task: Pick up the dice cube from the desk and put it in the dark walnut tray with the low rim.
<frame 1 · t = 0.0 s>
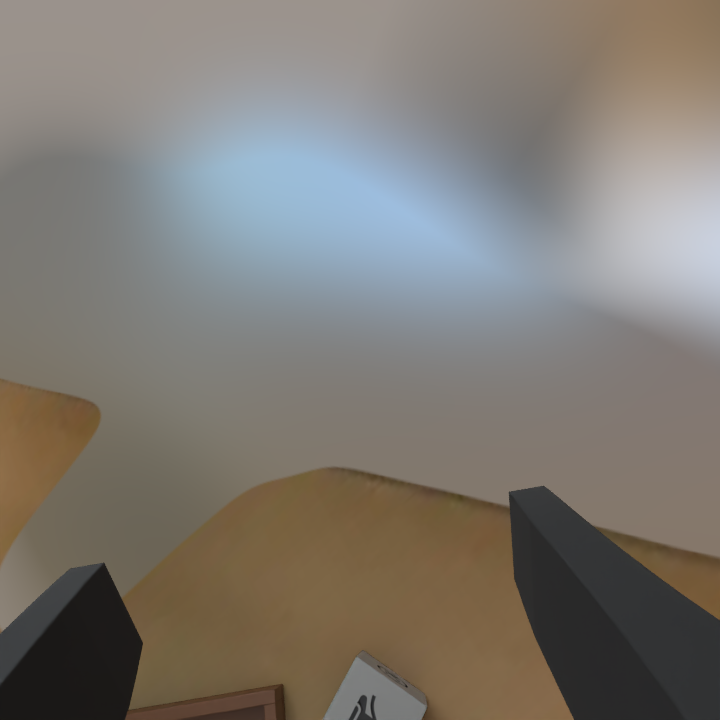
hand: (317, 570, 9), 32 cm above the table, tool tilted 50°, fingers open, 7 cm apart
dice cube: (375, 707, 36), on the table
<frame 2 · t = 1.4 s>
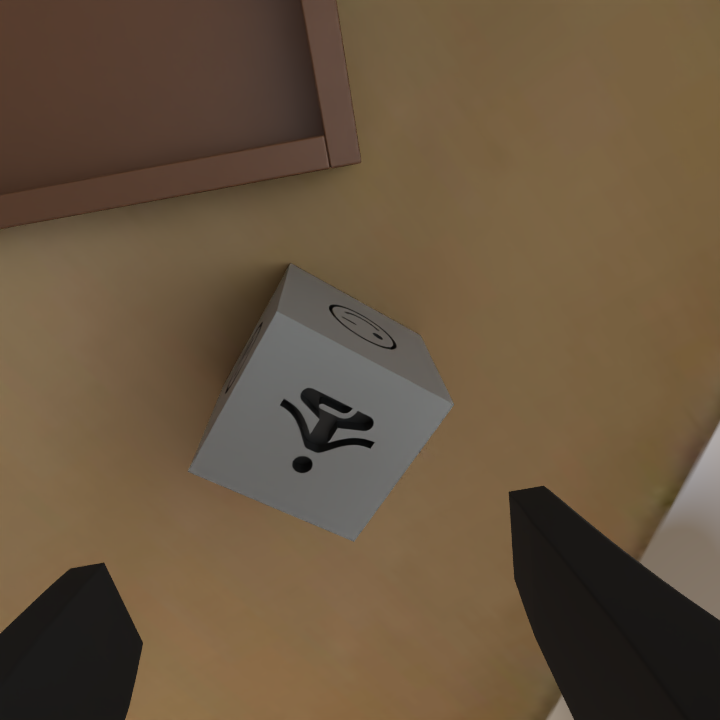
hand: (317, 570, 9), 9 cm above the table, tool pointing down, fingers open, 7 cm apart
dice cube: (320, 359, 18), on the table
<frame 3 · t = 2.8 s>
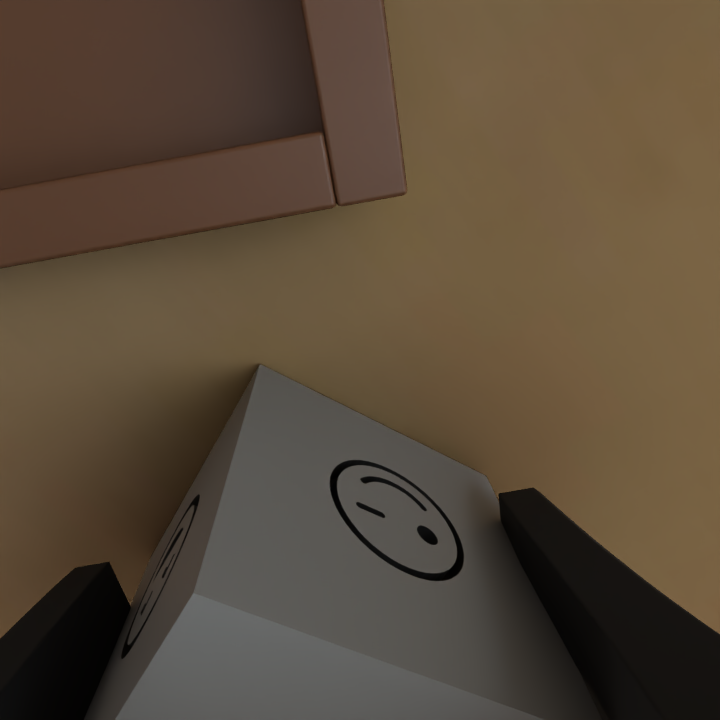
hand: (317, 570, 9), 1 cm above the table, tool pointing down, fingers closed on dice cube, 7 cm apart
dice cube: (316, 511, 11), on the table, touching gripper
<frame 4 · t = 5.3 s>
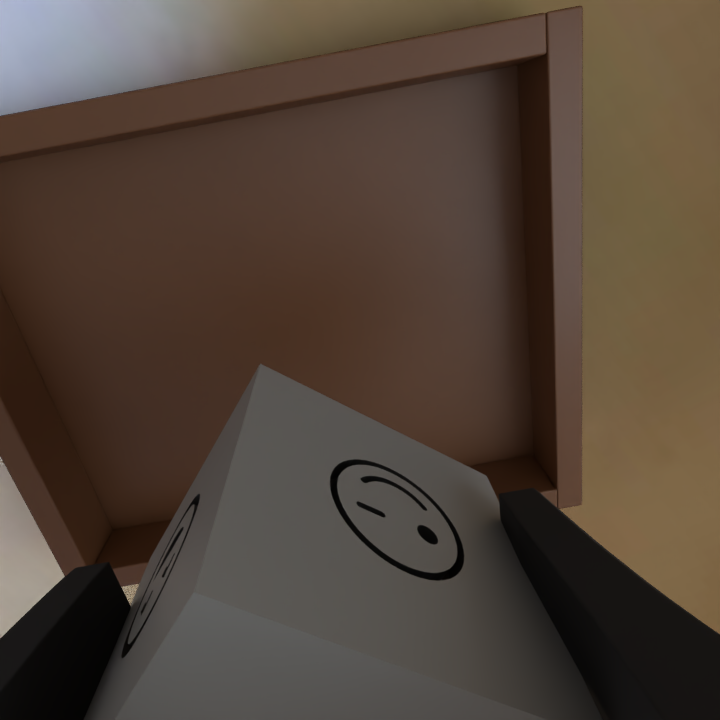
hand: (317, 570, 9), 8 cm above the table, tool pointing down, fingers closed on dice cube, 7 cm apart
dice cube: (316, 510, 11), point 7 cm above the table, touching gripper
tray: (284, 328, 16), on the table
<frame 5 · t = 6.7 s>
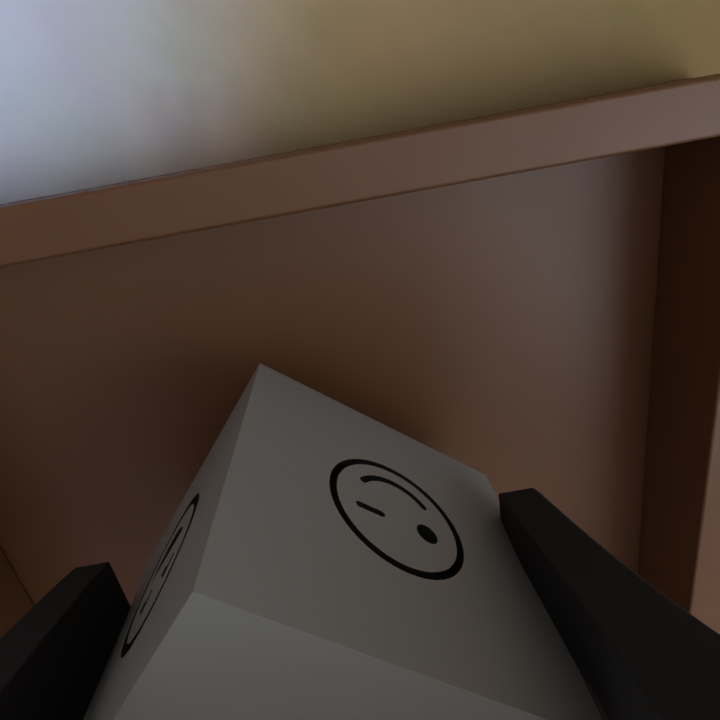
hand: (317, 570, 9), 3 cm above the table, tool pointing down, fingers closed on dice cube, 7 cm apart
dice cube: (315, 510, 11), point 2 cm above the table, touching gripper
tray: (319, 465, 12), on the table
when the fingers open (2 cm above the table, at t = 7.8 s): dice cube stays where it is, resting on tray.
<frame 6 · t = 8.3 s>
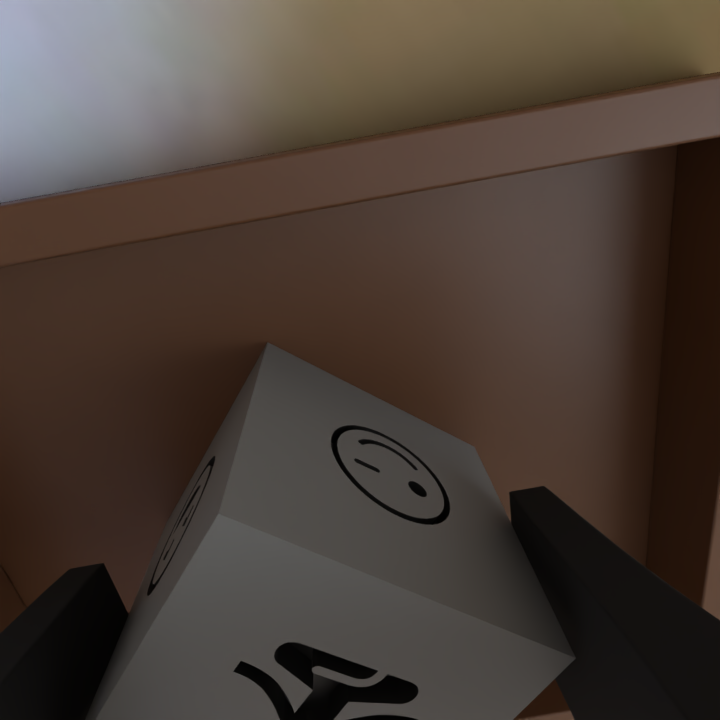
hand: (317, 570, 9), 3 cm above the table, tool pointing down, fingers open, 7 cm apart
dice cube: (318, 480, 12), resting on tray
tray: (320, 470, 12), on the table
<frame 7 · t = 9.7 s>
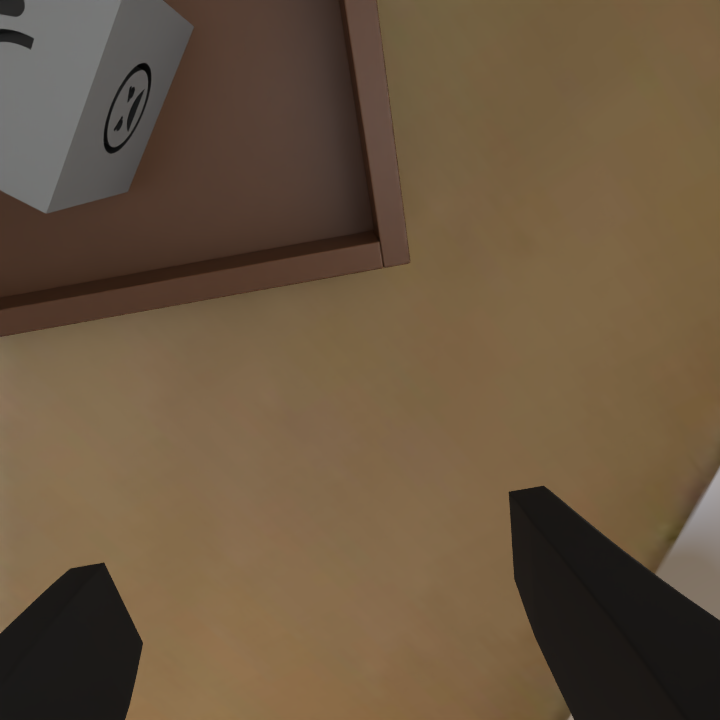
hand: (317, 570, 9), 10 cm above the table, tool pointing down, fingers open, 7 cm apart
dice cube: (76, 63, 15), resting on tray
tray: (82, 63, 15), on the table
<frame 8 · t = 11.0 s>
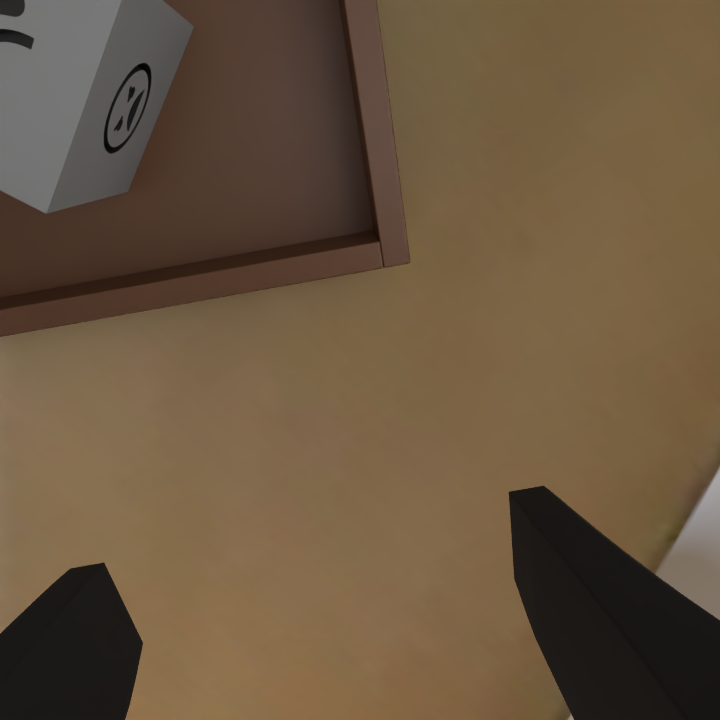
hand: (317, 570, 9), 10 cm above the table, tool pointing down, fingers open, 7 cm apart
dice cube: (76, 63, 15), resting on tray
tray: (82, 63, 15), on the table
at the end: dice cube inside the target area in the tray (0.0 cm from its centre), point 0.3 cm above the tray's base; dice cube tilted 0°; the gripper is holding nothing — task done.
